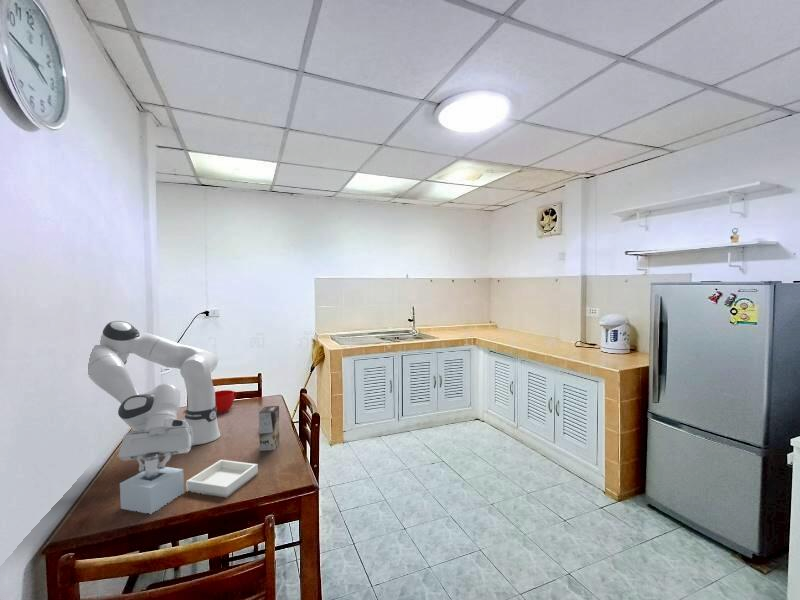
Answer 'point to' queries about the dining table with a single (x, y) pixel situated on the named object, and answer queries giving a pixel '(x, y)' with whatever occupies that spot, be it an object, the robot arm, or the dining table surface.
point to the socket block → (151, 490)
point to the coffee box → (269, 428)
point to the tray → (222, 478)
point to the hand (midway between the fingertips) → (151, 469)
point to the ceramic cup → (224, 400)
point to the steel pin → (152, 466)
